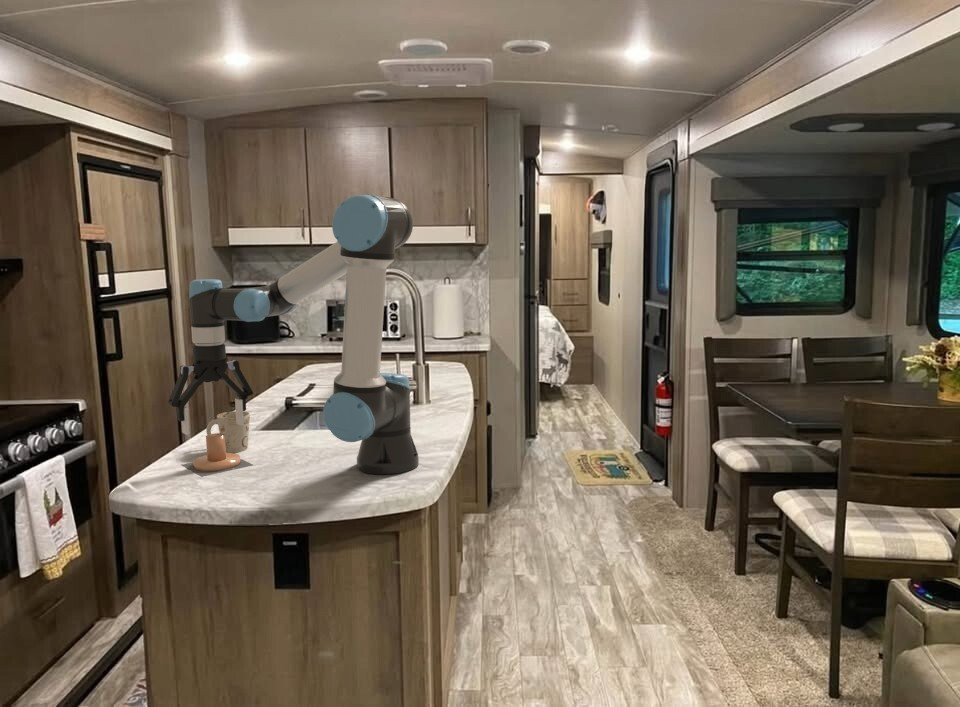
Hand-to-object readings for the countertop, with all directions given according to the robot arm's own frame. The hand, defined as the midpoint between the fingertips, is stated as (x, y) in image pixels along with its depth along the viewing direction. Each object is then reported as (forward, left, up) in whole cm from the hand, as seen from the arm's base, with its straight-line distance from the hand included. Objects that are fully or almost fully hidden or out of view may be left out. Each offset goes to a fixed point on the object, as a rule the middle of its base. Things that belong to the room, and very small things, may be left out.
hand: (213, 428), depth 183 cm
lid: (0, 0, -9) cm, 9 cm away
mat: (0, 0, -10) cm, 10 cm away
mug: (+12, -8, -10) cm, 17 cm away
